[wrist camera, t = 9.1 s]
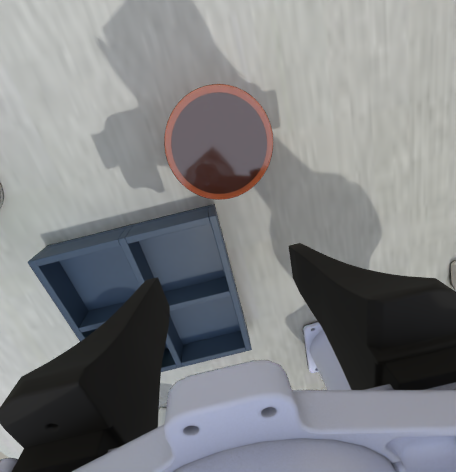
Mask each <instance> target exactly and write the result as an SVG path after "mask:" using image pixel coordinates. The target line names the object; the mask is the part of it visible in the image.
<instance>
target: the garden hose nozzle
mask: <svg viewBox="0 0 456 472" xmlns="http://www.w3.org/2000/svg"><path fill="white" fill-rule="evenodd" d="M451 281H452V285H453V287H454V288H455V290H456V261H454V262H452V263H451Z"/></svg>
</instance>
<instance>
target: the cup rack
mask: <svg viewBox="0 0 456 472" xmlns="http://www.w3.org/2000/svg"><path fill="white" fill-rule="evenodd" d="M28 264H29V265H30V267H31V268H32V270H33V271H34V273H35V274H36V276H37V277H38V279H39V280H40V282H41V283H42V285H43V286H44V288H45V289H46V291H47V292H48V294H49V295H50V297H51V298H52V300H53V301H54V303H55V304H56V306H57V307H58V309H59V310H60V312H61V313H62V315H63V316H64V318H65V319H66V321H67V322H68V324H69V325H70V327H71V329H72V330H73V332H74V333H75V335H76V336H77V338H78V339H79V341H80V342H81V341H82V340H83V339H85V338H86V337H87V336H89V335H90V334H91V333H93V332H94V331H95V330H96V329H98V328H99V327H100V326H101V325H102V324H104V323H105V322H106V321H107V320H108V319H109V318H110V317H111V316H112V315H113V314H114V313H115V312H116V311H117V310H118V309H119V308H120V307H121V306H122V305H123V304H124V303H125V302H126V301H127V300H128V299H129V298H130V297H131V296H132V295H133V294H134V293H135V291H136V290H137V289H138V288H139V287H140V286H141V285H142V284H143V283H144V282H145V281H146V280H148V279H152V278H156V277H158V279H159V281H160V284H161V286H162V289H163V291H164V294H165V296H166V299H167V301H168V304H169V306H170V316H169V327H168V333H167V338H166V344H165V349H164V354H163V359H162V366H161V372H164V371H168V370H172V369H176V368H180V367H184V366H188V365H192V364H196V363H200V362H204V361H208V360H212V359H216V358H221V357H225V356H229V355H233V354H237V353H241V352H245V351H249V350H252V349H251V344H250V339H249V335H248V330H247V326H246V323H245V319H244V315H243V311H242V307H241V303H240V300H239V296H238V292H237V288H236V284H235V281H234V277H233V273H232V269H231V265H230V261H229V258H228V254H227V250H226V246H225V242H224V239H223V235H222V231H221V227H220V223H219V219H218V216H217V212H216V208H215V205H214V204H213V205H209V206H205V207H201V208H197V209H193V210H189V211H185V212H181V213H177V214H173V215H169V216H165V217H161V218H157V219H153V220H149V221H145V222H141V223H137V224H133V225H129V226H125V227H121V228H117V229H113V230H109V231H105V232H101V233H97V234H93V235H89V236H85V237H81V238H76V239H72V240H68V241H64V242H60V243H56V244H52V245H48V246H46V247H45V248H44V249H43V250H42V251H40V252H39V253H38V254H37V255H35V256H34V257H33V258H32V259H31V260H29V261H28Z"/></svg>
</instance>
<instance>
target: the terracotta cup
mask: <svg viewBox="0 0 456 472" xmlns="http://www.w3.org/2000/svg"><path fill="white" fill-rule="evenodd" d="M164 146H165V153H166V157H167V161H168V163H169V166H170V168H171V170H172V172H173V174H174V175H175V176H176V178H177V179H178V180H179V181H180V182H181V184H182V185H184V186H185V187H186V188H187V189H188V190H190V191H192V192H193V193H195V194H197V195H199V196H202V197H205V198H209V199H218V200H219V199H229V198H233V197H236V196H239V195H241V194H243V193H245V192H247V191H248V190H250V189H251V188H252V187H253V186H255V185H256V184H257V183H258V181H259V180H260V179H261V178H262V176H263V175H264V173H265V172H266V170H267V168H268V165H269V163H270V160H271V156H272V151H273V133H272V128H271V124H270V121H269V119H268V117H267V115H266V112H265V111H264V109H263V108H262V106H261V105H260V104H259V103H258V102H257V100H256V99H254V98H253V97H252V96H251V95H250V94H248V93H247V92H245V91H244V90H241V89H239V88H237V87H234V86H230V85H224V84H212V85H206V86H203V87H200V88H198V89H196V90H194V91H192V92H190V93H189V94H187V95H186V96H185V97H184V98H183V99H182V100H181V101H180V102H179V103H178V104H177V105H176V107H175V108H174V110H173V111H172V113H171V115H170V117H169V120H168V122H167V126H166V130H165V137H164Z"/></svg>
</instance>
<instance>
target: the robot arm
mask: <svg viewBox="0 0 456 472" xmlns="http://www.w3.org/2000/svg"><path fill="white" fill-rule="evenodd" d="M289 252H290V259H291V267H292V274H293V279H294V281H295V283H296V285H297V288H298V290H299V292H300V294H301V295H302V297H303V298H304V300H305V302H306V303H307V305H308V306H309V308H310V309H311V311H312V313H313V314H314V316H315V317H316V319H317V320H318V323H314V324H310V325H306V326H305V327H304V328H303V331H304V339H305V346H306V354H307V361H308V369H309V371H310V372H311V373H315V372H319V373H320V375H321V377H322V379H323V381H324V384H325V386H326V388H327V390H292V389H291V386H290V383H289V380H288V377H287V374H286V372H285V371H284V369H283V368H282V366H281V365H279V364H277V363H274V362H272V361H269V360H255V361H250V362H245V363H241V364H237V365H233V366H228V367H224V368H220V369H216V370H211V371H207V372H203V373H199V374H195V375H190V376H188V377H186V378H184V379H181V380H179V381H177V382H176V383H175V384H174V385H173V387H172V388H171V389H170V390H169V392H168V400H167V408H166V416H165V424H164V425H162V426H160V427H158V408H159V389H160V376H161V366H162V359H163V354H164V349H165V344H166V338H167V333H168V327H169V316H170V306H169V304H168V301H167V299H166V296H165V294H164V291H163V289H162V286H161V284H160V281H159V279H158V277H156V278H152V279H148V280H146V281H145V282H144V283H143V284H142V285H141V286H140V287H139V288H138V289H137V290H136V291H135V293H134V294H133V295H132V296H131V297H130V298H129V299H128V300H127V301H126V302H125V303H124V304H123V305H122V306H121V307H120V308H119V309H118V310H117V311H116V312H115V313H114V314H113V315H112V316H111V317H110V318H109V319H108V320H107V321H106V322H105V323H104V324H102V325H101V326H100V327H99V328H98V329H96V330H95V331H94V332H93V333H91V334H90V335H89V336H87V337H86V338H85V339H83V340H82V341H81V342H79V343H78V344H76V345H75V346H74V347H72V348H71V349H69V350H68V351H66V352H64V353H63V354H61V355H60V356H58V357H56V358H55V359H53V360H51V361H50V362H48V363H46V364H44V365H43V366H41V367H39V368H37V369H35V370H34V371H32V372H30V373H28V374H26V375H24V376H22V377H21V378H20V380H19V381H18V383H17V384H16V386H15V387H14V388H13V390H12V391H11V393H10V394H9V396H8V397H7V398H6V400H5V401H4V403H3V404H2V406H1V407H0V424H1V425H2V426H3V428H4V429H5V430H6V431H7V432H8V433H9V434H10V435H11V436H12V437H13V438H14V439H15V440H16V441H17V442H18V443H19V444H20V445H21V446H22V447H23V448H24V450H23V452H22V454H21V455H20V457H19V459H15V458H5V459H1V460H0V472H456V292H455V291H454V290H452V289H451V288H449V287H448V286H446V285H445V284H443V283H442V282H440V281H439V280H437V279H436V278H422V277H408V276H400V275H392V274H386V273H381V272H376V271H371V270H367V269H363V268H359V267H356V266H352V265H349V264H346V263H343V262H341V261H338V260H335V259H333V258H331V257H328V256H326V255H324V254H322V253H319V252H317V251H315V250H313V249H311V248H309V247H307V246H305V245H303V244H301V243H298V244H294V245H290V246H289ZM311 328H312V329H311Z"/></svg>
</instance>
